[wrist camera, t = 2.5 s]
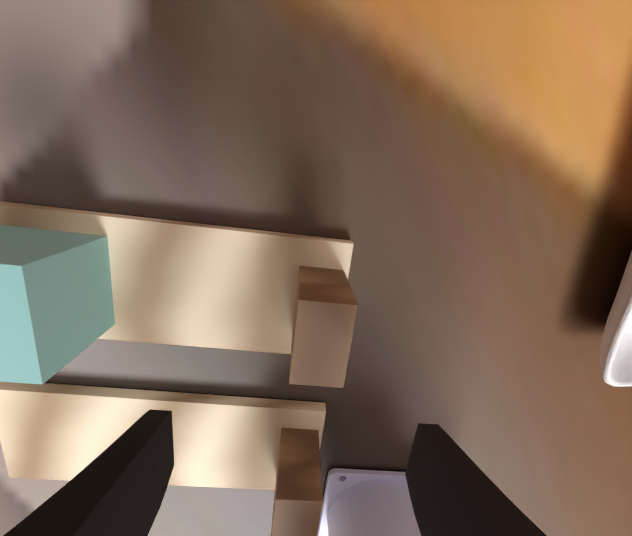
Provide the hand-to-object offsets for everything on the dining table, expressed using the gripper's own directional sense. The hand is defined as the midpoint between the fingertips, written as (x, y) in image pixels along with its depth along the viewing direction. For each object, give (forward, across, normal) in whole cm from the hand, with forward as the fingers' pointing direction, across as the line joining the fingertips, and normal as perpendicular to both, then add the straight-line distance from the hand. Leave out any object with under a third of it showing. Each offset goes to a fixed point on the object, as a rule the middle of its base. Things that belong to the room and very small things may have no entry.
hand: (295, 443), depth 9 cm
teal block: (+9, +12, -1) cm, 15 cm away
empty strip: (+10, +8, +10) cm, 16 cm away
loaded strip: (+10, +8, -1) cm, 12 cm away
